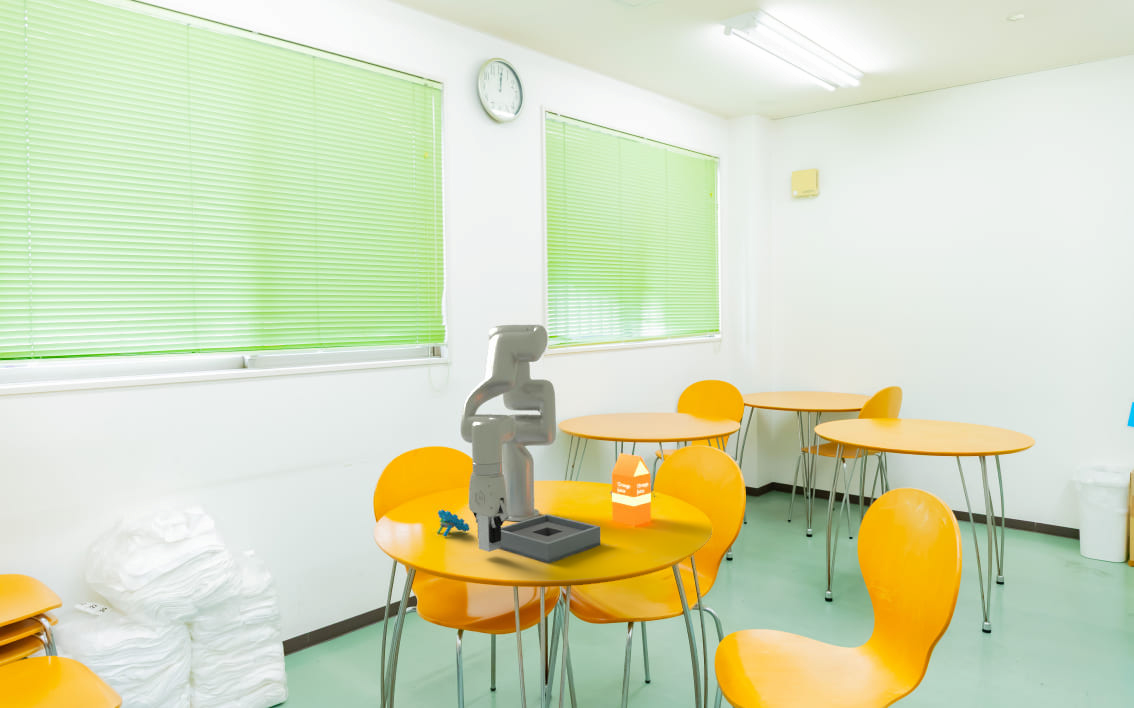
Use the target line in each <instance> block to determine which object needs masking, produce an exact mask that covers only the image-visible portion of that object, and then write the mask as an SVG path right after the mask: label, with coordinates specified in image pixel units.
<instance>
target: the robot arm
mask: <svg viewBox="0 0 1134 708" xmlns="http://www.w3.org/2000/svg"><path fill="white" fill-rule="evenodd" d="M548 337H549V336H548V332H547V330H546V328H545V326H543V325H540V324H505V325H504V324H502V325H501V324H500V325H496V326H494V327H492V328H491V329H490V330H489V333H488V338H489V339H488V340H489V345H488V352H487V359H486V367H485V373H484V379H483V380H482V381H481V382H480V383H478V385H476V386H475V388H474V389H472V390H471V392H470V393H469V394H468V395H467V398H466V399H465V401H464V404H463V409H462V415H461V420H460V421H461V422H460V435H461V438H462V440H463V441H464V442H466V443H469V444H471V445H472V446H471V447H472V449H471V453H472V472H471V474H470V479H469V487H468V508H469V510H470V511H471V512H472V513H473V516H474V518H475V523H476V524H478V514H481V515H485V516H489V517H490V519H491V526H492V527H490V542H491V543H495V542H498V541H501V527H503V525H504V523H505V521H510V522H521V521H525V520H528V519H532V518H535V517H539V516H540V511H539V509H536V508H535V474H534V472H535V471H534V470H535V469H534V468H535V467H534V465H535V463H534V457H533V455H532V454H531V452H530V451H529V449H528V448H527V447H529V446H535V447H536V446H539V447H541V446H543V447H545V446H550V445H552V444H554V442H555V441H556V438H557V437H556V436H557V420H556V417H557V416H556V411H557V410H556V393H555V388H554V384H553V383H552V382H551V380H548V379H532V378H531V370H530V369H531V368H530V367H531V366H530V363H535V362H538V361H539V360H540V359H541V357H542V355H544V353H545V351H546V348H547V346H548V341H549V340H548ZM500 395H502V399H503V405H504V407H505V408H506V409H507V410H510V411H523V412H524V411H527V412H528V411H529V412H530V411H531V412H532V411H535V412H536V411H537V412H539V414H528V413H527V414H521V413H520V414H519V413H518V414H490V413H489V414H487V413H486V414H476V413H477V412H478V409H479V408H480V407H481V406H483V404H485V403H486V402H488V401H490V400H492V399H494V398H497V397H498V396H500ZM495 517H497V520H496V521H495Z"/></svg>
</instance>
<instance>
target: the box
mask: <svg viewBox="0 0 1134 708" xmlns="http://www.w3.org/2000/svg"><path fill="white" fill-rule="evenodd" d="M599 546H601V526H598V525H595V524H591V523H586V522H583V521H578V520H573V519H570V518H564V517H562V516H561V517H560V516H556V515H551V514H548V513H546V514H542V515H539V516H538V517H535V518H532V519H528V520H525V521H517V522H515V523H511V524H509V525H508V524H507V525H505V526H501V548H499V549H498V550H502V551H505V552H508V553H512V554H515V555H518V556H521V557H525V558H528V559H530V560H531V559H532V560H534V561H538V562H540V563H545V564H548V565H549V564H551V563H554V562H557V561H559V560H563V559H566V558H568V557H570V556H571V557H572V556H574V555H576V554H580V553H582V552H586V551H588V550H591V549H593V548H596V547H599Z"/></svg>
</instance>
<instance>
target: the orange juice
mask: <svg viewBox="0 0 1134 708" xmlns="http://www.w3.org/2000/svg"><path fill="white" fill-rule="evenodd" d="M611 488H612V489H611V491H612V496H611V503H612V504H611V505H612V506H611V507H612V512H611V513H612V516H611V517H612V521H613V522H615V521H616V522H615V523H619V522H620V523H619V524H622V523H625V524H624V525H626V524H628V525H627V526H630V525H632V526H631V527H637V526H636V525H638V526H640V525H639V524H641V525H643V524H642V523H644V524H646V523H645V522H648V523H650V522H649V521H651V522H652V512H651V511H652V509H651V508H652V507H651V506H652V504H651V503H652V502H651V501H652V499H651V498H652V497H651V496H652V495H651V493H652V492H651V491H652V490H651V473H650V471H649V469H648V467H647V464H646V463H645V461H644V458H643V457H642V456H640V455H632V454H627V453H619V455H618V458H617V460H616V462H615V466H614V467H613V470H612V472H611Z"/></svg>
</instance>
